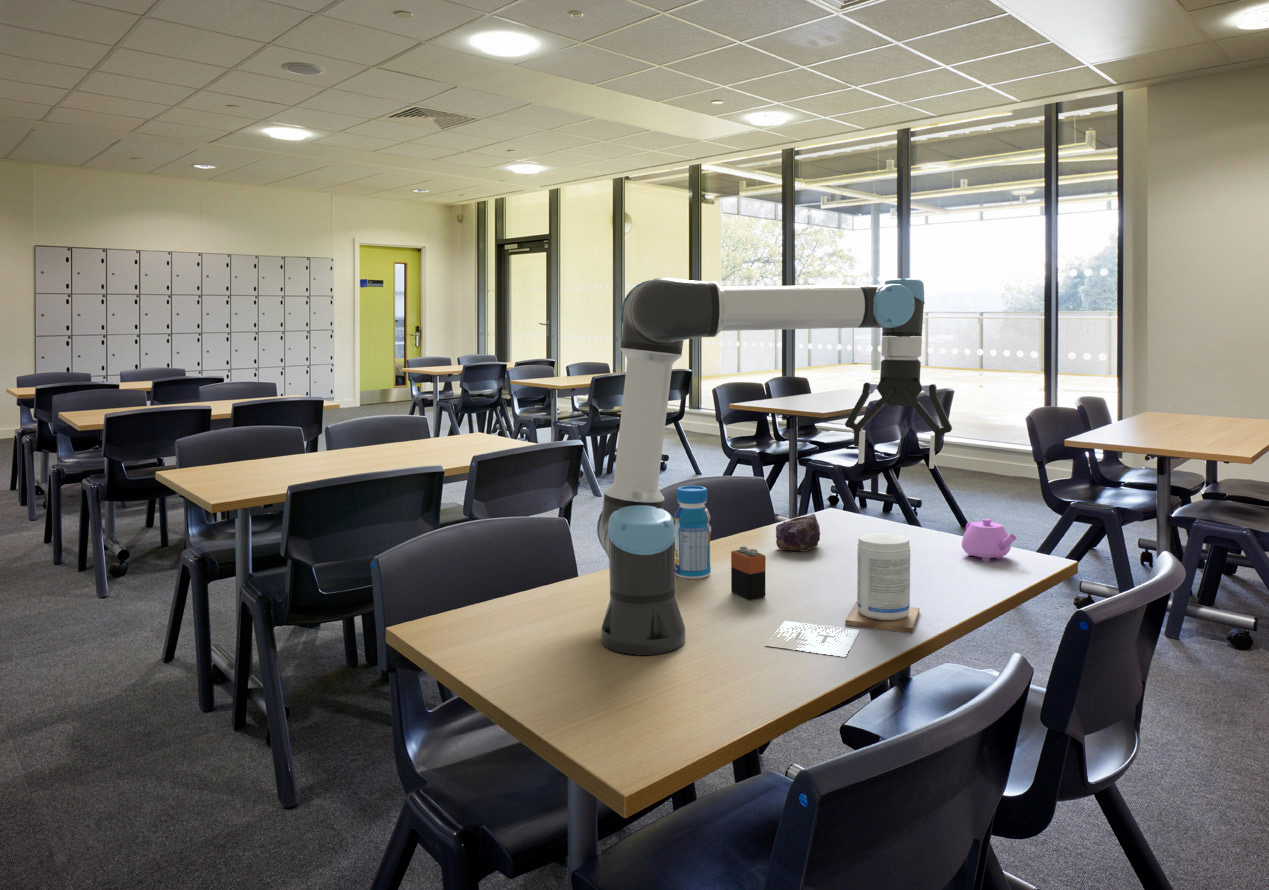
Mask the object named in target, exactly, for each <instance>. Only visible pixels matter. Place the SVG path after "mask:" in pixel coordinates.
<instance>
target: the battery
mask: <svg viewBox="0 0 1269 890" xmlns="http://www.w3.org/2000/svg"><path fill="white" fill-rule="evenodd" d="M730 554H731V555H730V556H731V557H730V559H731V560H730V562H731V563H730V565H731V566H730V569H731V572H730V574H731V577H730V581H731V582H730V583H731V585H730V588H731V591H730V592H731V593H732V594H734V595H736V594H737V595H736V596H739V597H741V598H744V599H746V600H747V601H753V600H757V599H758V600H759V599H763V598H765V597H766V560H767V559H766V554H763V553H760V552H759V551H758V549H755V548H747V546H739V549H735V550H732V551H731V552H730Z"/></svg>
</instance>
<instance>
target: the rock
mask: <svg viewBox="0 0 1269 890" xmlns="http://www.w3.org/2000/svg"><path fill="white" fill-rule="evenodd" d="M816 516H817V515H816V514H815V513H812V514H810V515H804V516H801V517H794V518H791V519H790V520H787V521H783V522H782V523H779V524H777V525H775V538H776V540H775V543H776V546H777V548H778V549H780V550H781V549H782V550H781V551H783V550H791V551H800V552H801V551H803V552H806V551H805V550H809V551H810V550H813V549H814V548H815V547H818V545H819V542H820V540H821V539H820V538H821V531H820V530H821V529H820V525H819V522H818V520H817V517H816Z"/></svg>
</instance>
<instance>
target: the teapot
mask: <svg viewBox="0 0 1269 890" xmlns="http://www.w3.org/2000/svg"><path fill="white" fill-rule="evenodd" d="M1016 540H1017V536H1016V535H1014V533H1010V534H1008V533H1007V531H1006V529H1005V527H1004V525H1002V524H1000V523H998V522H993V519H991V518H982V519H981V521H976V522H975V521H969V522H967V523H966V525H965V532H964V534H963V537H962V540H961V548H962V549H963V551H964V553H966V554H967V555H968V556H975V557H977V558H978V557H979V558H981V559H980V560H982V562H984V561H989V562H990V560H991V559H993V558H995V559H996V558H998V559H997V560H1004V559H1005V556H1007V554H1008V553H1010V550H1011V546H1012V545H1011V544H1013V543H1014V542H1015V541H1016ZM968 556H967V557H968Z"/></svg>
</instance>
